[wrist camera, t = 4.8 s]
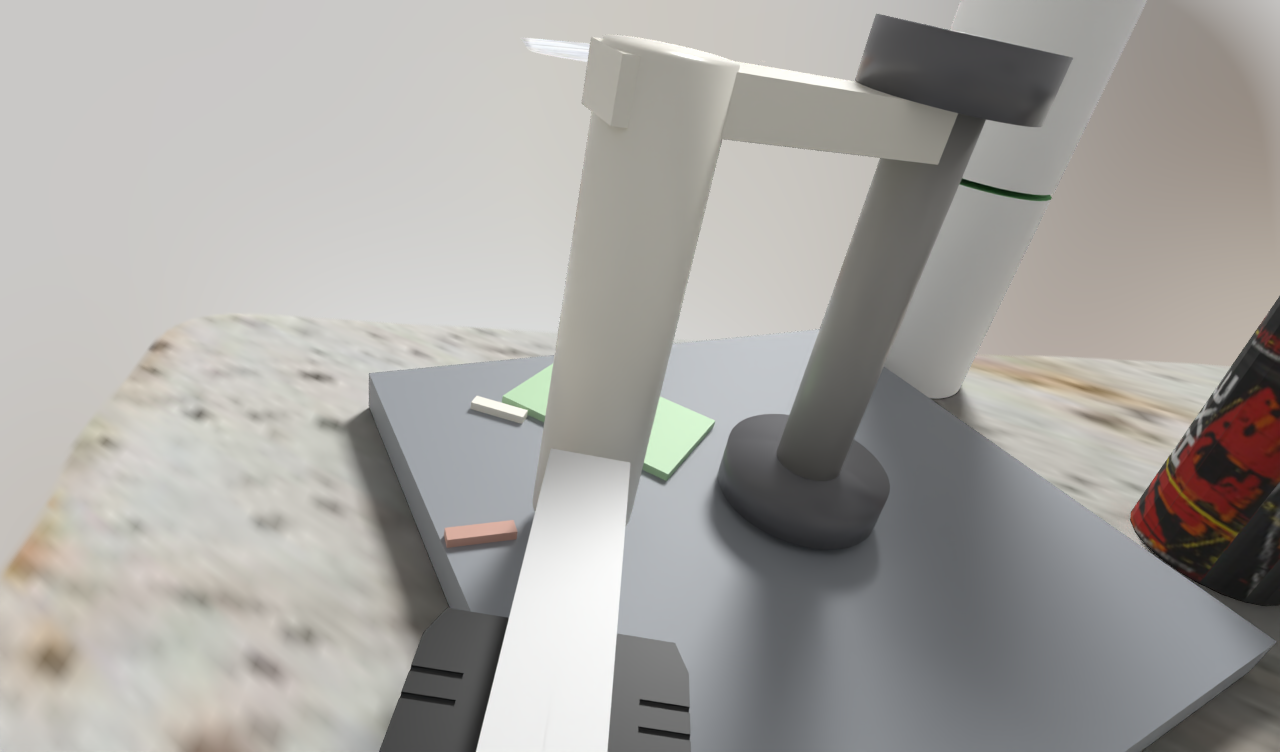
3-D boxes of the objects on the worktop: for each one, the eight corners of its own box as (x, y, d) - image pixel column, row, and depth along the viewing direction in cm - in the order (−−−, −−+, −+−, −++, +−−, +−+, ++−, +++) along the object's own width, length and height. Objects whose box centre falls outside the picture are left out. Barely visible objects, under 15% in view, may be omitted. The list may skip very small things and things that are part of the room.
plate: (820, 351, 40) (831, 323, 39) (1249, 671, 25) (1283, 635, 24) (368, 406, 28) (369, 365, 27) (652, 1111, 12) (674, 1071, 11)
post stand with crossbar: (817, 439, 29) (972, 35, 21) (908, 538, 24) (1142, 73, 17) (510, 464, 24) (577, -53, 16) (557, 594, 19) (676, -31, 12)
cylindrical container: (917, 338, 45) (1128, -152, 32) (986, 401, 39) (1276, -167, 26) (813, 328, 43) (996, -195, 30) (869, 394, 37) (1124, -223, 24)
